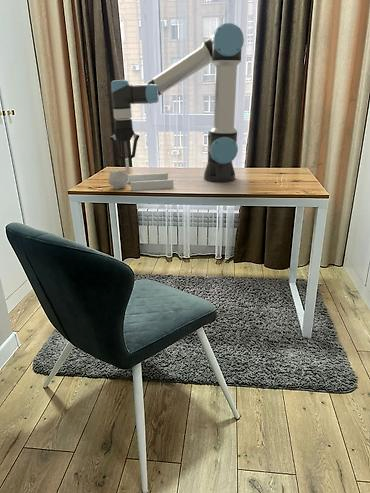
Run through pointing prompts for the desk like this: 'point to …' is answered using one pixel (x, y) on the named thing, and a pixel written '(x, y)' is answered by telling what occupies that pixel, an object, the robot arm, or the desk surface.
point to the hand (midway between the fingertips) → (127, 173)
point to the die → (118, 179)
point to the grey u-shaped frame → (150, 181)
